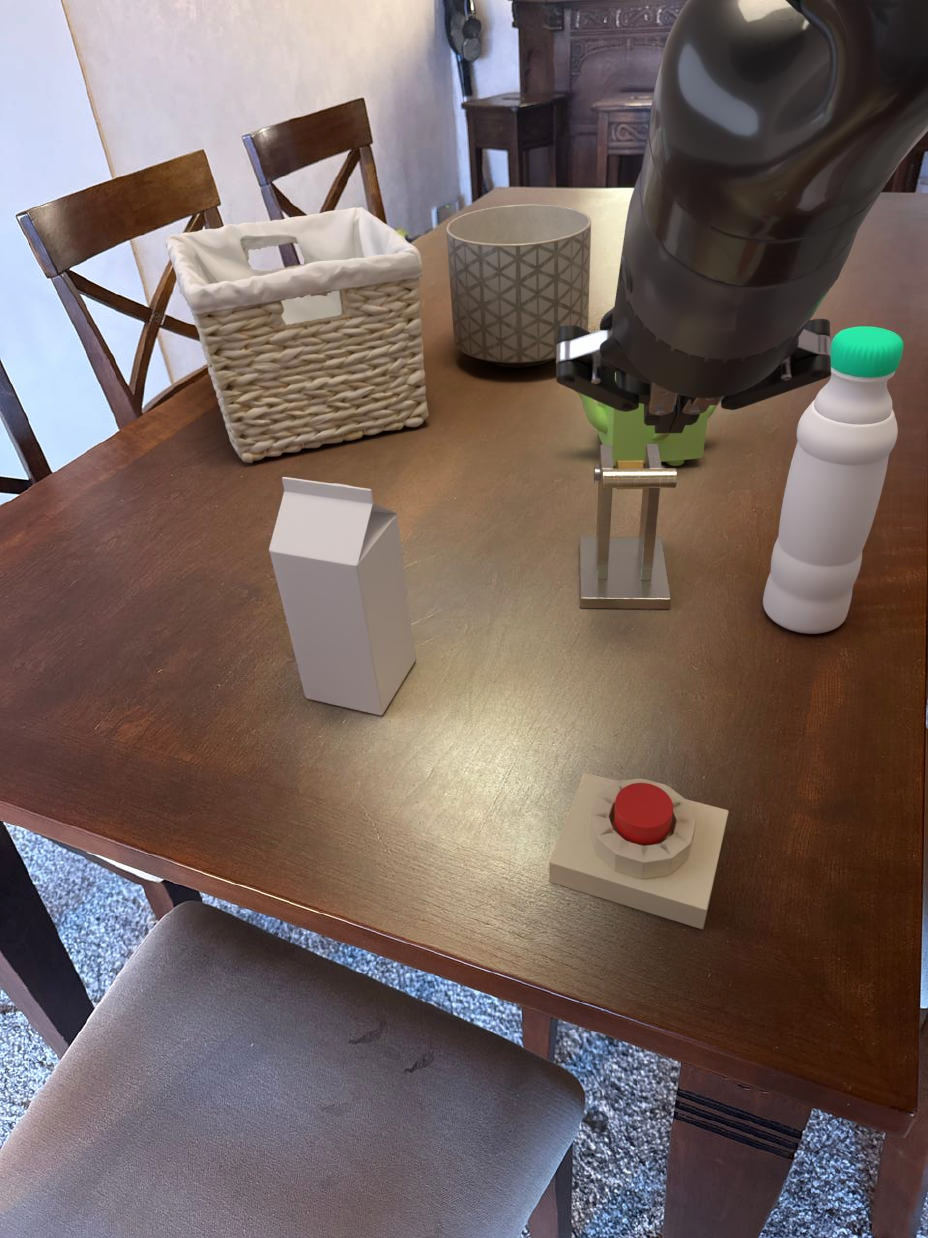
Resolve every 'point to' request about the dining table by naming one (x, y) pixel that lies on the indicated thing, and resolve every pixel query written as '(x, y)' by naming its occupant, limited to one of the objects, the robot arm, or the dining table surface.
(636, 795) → the button
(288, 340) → the basket
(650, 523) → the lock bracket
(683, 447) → the teapot
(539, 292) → the planter
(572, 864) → the box
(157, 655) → the dining table surface
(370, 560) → the milk carton
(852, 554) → the water bottle
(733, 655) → the dining table surface
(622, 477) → the lever
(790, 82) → the robot arm
